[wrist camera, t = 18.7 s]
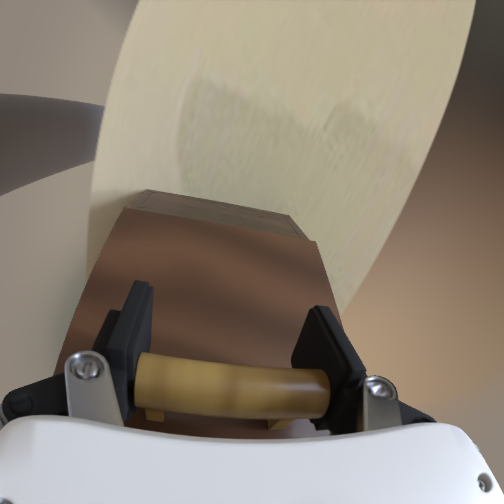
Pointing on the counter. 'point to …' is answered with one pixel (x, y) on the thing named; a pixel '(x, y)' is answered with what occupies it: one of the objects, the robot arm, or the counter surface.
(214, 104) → the counter surface
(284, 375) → the lid
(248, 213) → the chest
